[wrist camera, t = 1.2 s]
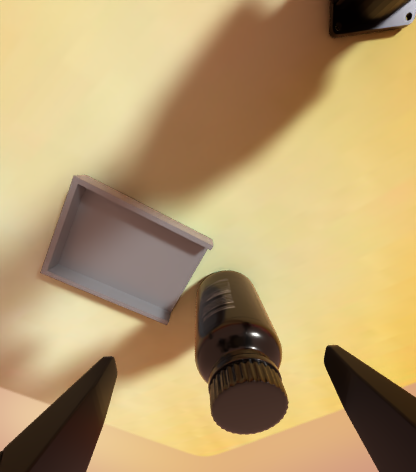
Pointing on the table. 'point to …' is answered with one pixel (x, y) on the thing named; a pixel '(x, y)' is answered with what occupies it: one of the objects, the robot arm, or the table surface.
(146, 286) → the tray
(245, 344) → the supplement bottle
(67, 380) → the table surface
